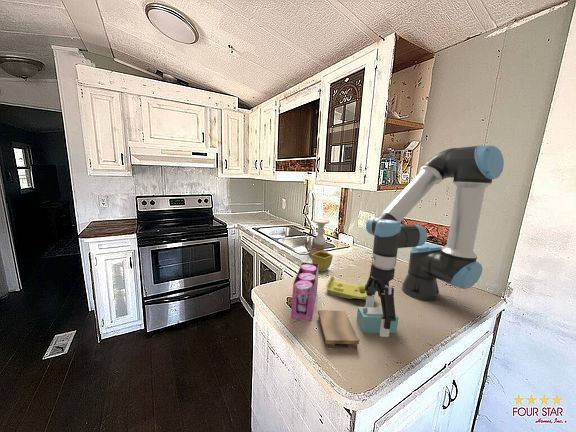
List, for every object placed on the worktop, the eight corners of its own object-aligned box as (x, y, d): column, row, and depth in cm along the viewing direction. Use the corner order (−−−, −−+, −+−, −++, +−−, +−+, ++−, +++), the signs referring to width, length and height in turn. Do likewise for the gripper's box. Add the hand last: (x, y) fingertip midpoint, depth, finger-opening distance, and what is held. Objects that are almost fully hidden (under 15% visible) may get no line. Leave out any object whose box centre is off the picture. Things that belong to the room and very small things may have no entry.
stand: (344, 318, 88) (345, 310, 88) (358, 349, 73) (358, 340, 72) (317, 317, 88) (318, 310, 88) (325, 348, 72) (326, 340, 72)
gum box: (311, 324, 84) (313, 288, 82) (289, 320, 86) (291, 285, 83) (317, 292, 107) (319, 263, 105) (300, 289, 109) (301, 261, 106)
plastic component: (324, 289, 106) (332, 273, 113) (327, 300, 109) (335, 283, 116) (370, 299, 95) (375, 281, 102) (371, 311, 99) (377, 292, 105)
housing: (388, 322, 87) (391, 304, 86) (396, 333, 81) (399, 313, 80) (356, 321, 87) (358, 303, 85) (361, 332, 81) (363, 313, 79)
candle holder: (314, 260, 147) (316, 222, 142) (308, 254, 157) (309, 219, 153) (330, 259, 150) (333, 222, 146) (323, 253, 160) (325, 218, 156)
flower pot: (332, 269, 133) (333, 254, 131) (323, 274, 127) (324, 258, 125) (319, 265, 139) (320, 250, 137) (310, 269, 132) (311, 254, 131)
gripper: (359, 253, 92) (354, 303, 96) (388, 281, 67) (379, 348, 71) (378, 253, 92) (372, 304, 96) (414, 282, 68) (404, 348, 71)
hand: (375, 323), depth 83 cm, fingers open, 13 cm apart
